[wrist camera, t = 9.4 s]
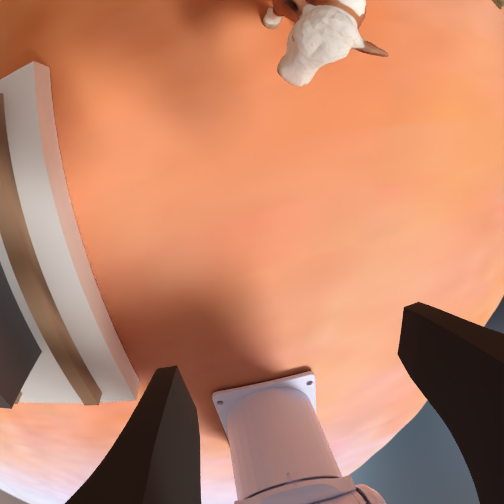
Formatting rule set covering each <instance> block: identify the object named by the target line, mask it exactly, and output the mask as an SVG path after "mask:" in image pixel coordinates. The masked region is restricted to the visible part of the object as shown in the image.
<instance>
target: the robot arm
mask: <svg viewBox="0 0 504 504" xmlns="http://www.w3.org/2000/svg"><path fill="white" fill-rule="evenodd" d="M398 356H399V358H400V360H401V361H402V363H403V365H404V367H405V369H406V370H407V372H408V374H409V375H410V377H411V378H412V380H413V381H414V383H415V384H416V385H417V387H418V388H419V389H420V390H421V392H422V393H423V394H424V396H425V397H426V398H427V400H428V401H429V402H430V404H431V405H432V406H433V408H434V409H435V410H436V411H437V413H438V414H439V415H440V417H441V418H442V420H443V421H444V422H445V424H446V425H447V427H448V428H449V430H450V432H451V433H452V435H453V437H454V439H455V441H456V443H457V444H458V447H459V449H460V450H461V453H462V455H463V457H464V459H465V462H466V464H467V466H468V468H469V471H470V473H471V476H472V479H473V481H474V484H475V487H476V491H477V494H478V498H479V501H480V504H504V334H503V333H500V332H497V331H494V330H491V329H488V328H485V327H483V326H480V325H477V324H475V323H472V322H469V321H467V320H464V319H462V318H459V317H457V316H455V315H452V314H450V313H447V312H445V311H442V310H440V309H437V308H434V307H432V306H429V305H426V304H423V303H420V302H417V303H414V304H412V305H409V306H406V307H404V311H403V320H402V328H401V335H400V342H399V349H398ZM308 381H309V382H308ZM212 400H213V403H214V405H215V408H216V410H217V413H218V415H219V418H220V420H221V423H222V425H223V428H224V430H225V433H226V435H227V438H228V440H229V445H230V452H231V459H232V465H233V472H234V478H235V485H236V491H237V497H238V501H235V502H234V504H386V502H385V501H384V499H383V498H382V497H381V495H380V494H379V493H378V492H377V491H375V490H374V489H372V488H370V487H368V486H367V485H364V484H359V485H356V486H355V485H354V483H353V481H352V478H351V476H349V475H348V476H345V477H342V475H341V472H340V470H339V468H338V465H337V463H336V460H335V458H334V456H333V453H332V451H331V448H330V446H329V444H328V441H327V439H326V437H325V434H324V432H323V429H322V427H321V425H320V422H319V420H318V417H317V415H316V382H315V374H314V373H313V372H312V371H308V372H304V373H300V374H296V375H292V376H288V377H284V378H280V379H276V380H272V381H267V382H263V383H258V384H253V385H248V386H244V387H238V388H233V389H228V390H222V391H217V392H214V393H213V394H212ZM65 504H201V487H200V433H199V425H198V417H197V409H196V407H195V405H194V403H193V401H192V398H191V396H190V394H189V392H188V390H187V387H186V385H185V383H184V381H183V379H182V376H181V374H180V372H179V369H178V367H177V366H172V367H165V368H159V369H157V370H156V372H155V373H154V375H153V377H152V379H151V381H150V383H149V385H148V386H147V388H146V390H145V392H144V394H143V396H142V398H141V399H140V401H139V403H138V405H137V407H136V408H135V410H134V412H133V414H132V415H131V417H130V419H129V421H128V422H127V424H126V426H125V427H124V429H123V431H122V432H121V434H120V435H119V437H118V438H117V440H116V442H115V443H114V445H113V446H112V448H111V449H110V451H109V452H108V454H107V455H106V456H105V458H104V459H103V461H102V462H101V463H100V465H99V466H98V467H97V468H96V470H95V471H94V472H93V474H92V475H91V476H90V477H89V478H88V479H87V481H86V482H85V483H84V484H83V485H82V486H81V487H80V488H79V489H78V490H77V492H76V493H75V494H74V495H73V496H72V497H71V498H70V499H69V500H68V501H67V502H66V503H65Z"/></svg>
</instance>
